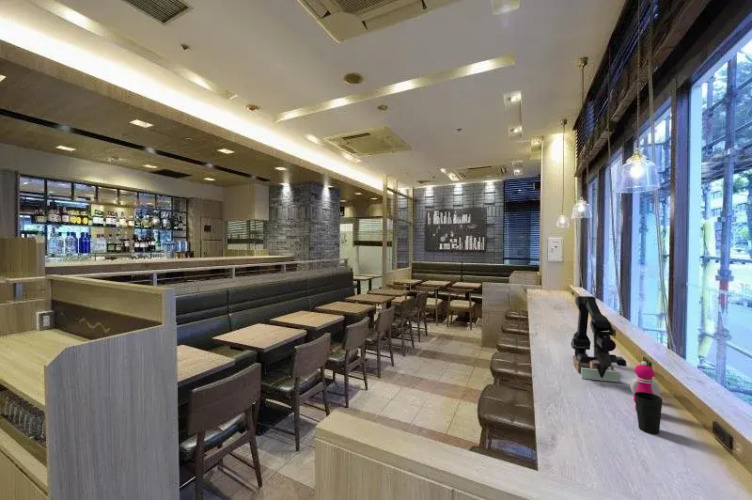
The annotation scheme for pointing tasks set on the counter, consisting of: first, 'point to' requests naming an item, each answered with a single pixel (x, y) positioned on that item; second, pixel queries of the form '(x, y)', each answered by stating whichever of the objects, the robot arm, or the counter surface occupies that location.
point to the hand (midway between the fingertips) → (601, 377)
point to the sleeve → (577, 363)
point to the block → (592, 366)
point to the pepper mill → (644, 378)
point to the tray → (594, 374)
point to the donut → (654, 387)
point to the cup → (648, 412)
